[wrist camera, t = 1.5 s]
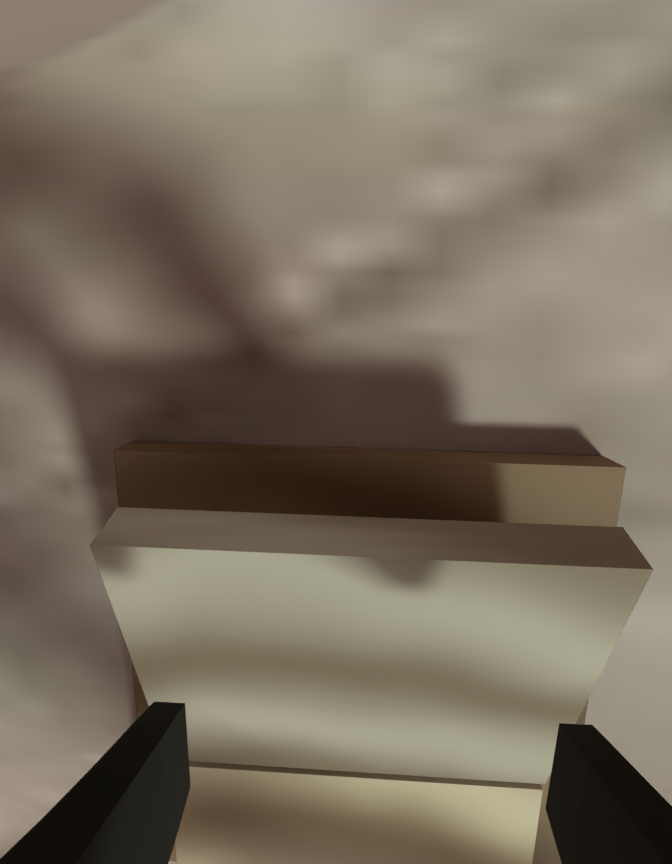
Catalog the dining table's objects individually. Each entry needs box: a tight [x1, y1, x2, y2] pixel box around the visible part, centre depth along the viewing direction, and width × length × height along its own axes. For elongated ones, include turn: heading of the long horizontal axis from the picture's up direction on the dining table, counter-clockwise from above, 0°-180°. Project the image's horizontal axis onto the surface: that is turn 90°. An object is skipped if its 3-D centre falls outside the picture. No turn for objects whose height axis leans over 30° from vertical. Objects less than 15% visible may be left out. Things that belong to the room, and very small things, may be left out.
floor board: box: [114, 441, 626, 864], centre depth 18 cm, size 19×18×3 cm
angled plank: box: [90, 507, 653, 784], centre depth 15 cm, size 11×14×2 cm
